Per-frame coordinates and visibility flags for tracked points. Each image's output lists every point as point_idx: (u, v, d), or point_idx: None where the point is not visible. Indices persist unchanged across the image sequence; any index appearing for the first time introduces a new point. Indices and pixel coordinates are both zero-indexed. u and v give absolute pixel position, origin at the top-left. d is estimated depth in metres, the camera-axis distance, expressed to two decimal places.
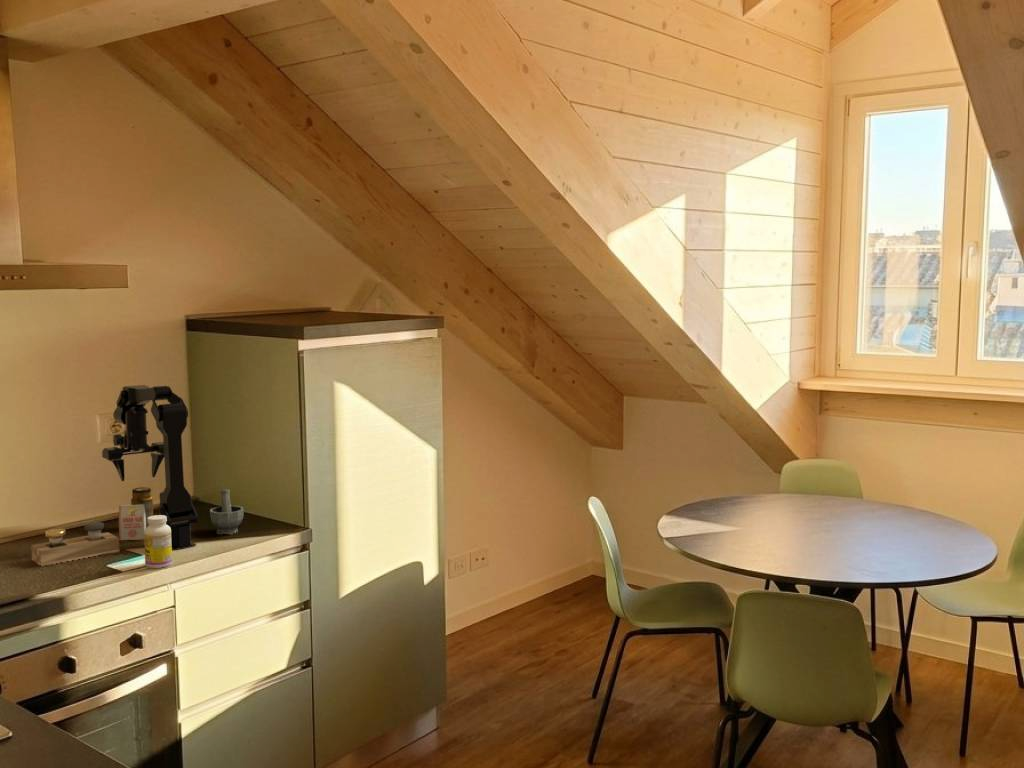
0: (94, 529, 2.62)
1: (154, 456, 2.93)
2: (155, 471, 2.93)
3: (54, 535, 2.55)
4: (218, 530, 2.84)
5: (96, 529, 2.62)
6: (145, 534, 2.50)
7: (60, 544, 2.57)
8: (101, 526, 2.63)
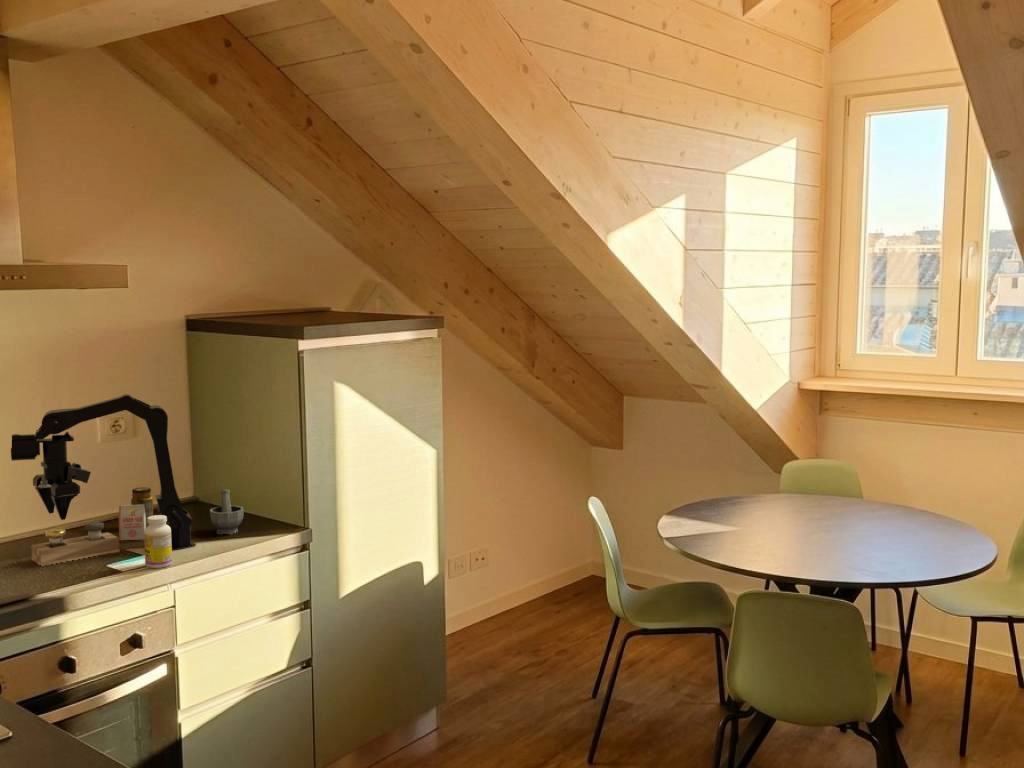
0: (94, 529, 2.62)
1: None
2: (58, 513, 2.53)
3: (54, 535, 2.55)
4: (218, 530, 2.84)
5: (96, 529, 2.62)
6: (145, 534, 2.50)
7: (60, 544, 2.57)
8: (101, 526, 2.63)
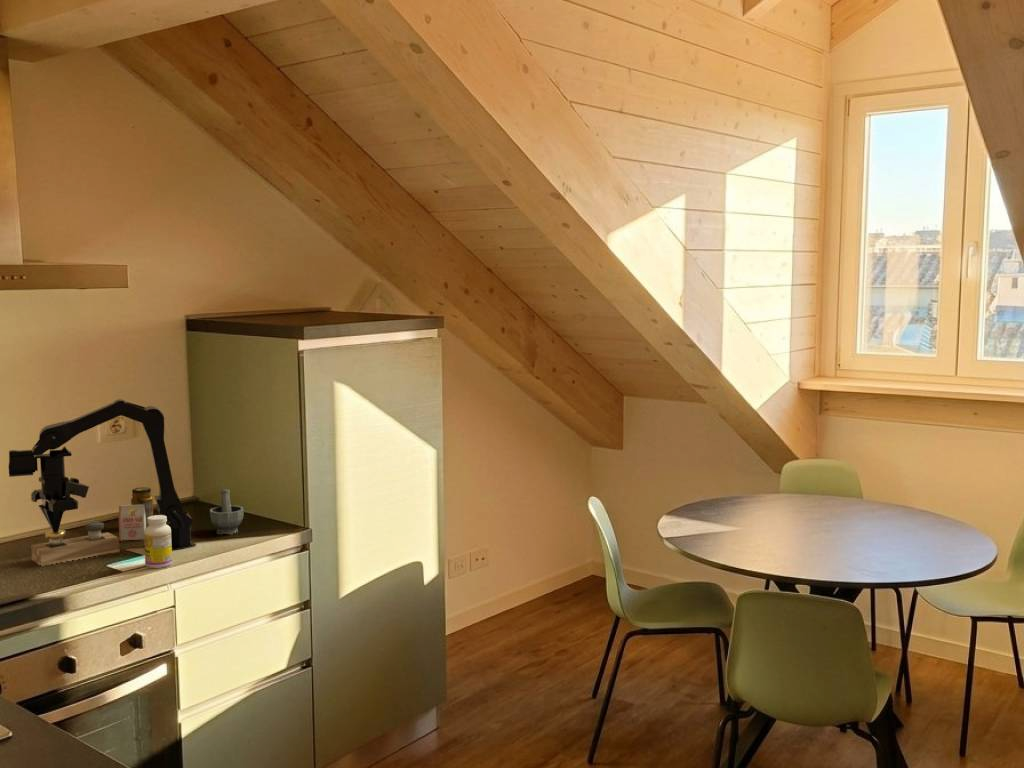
0: (94, 529, 2.62)
1: None
2: (51, 525, 2.56)
3: (54, 536, 2.55)
4: (218, 530, 2.84)
5: (96, 529, 2.62)
6: (145, 534, 2.50)
7: (60, 545, 2.57)
8: (101, 526, 2.63)
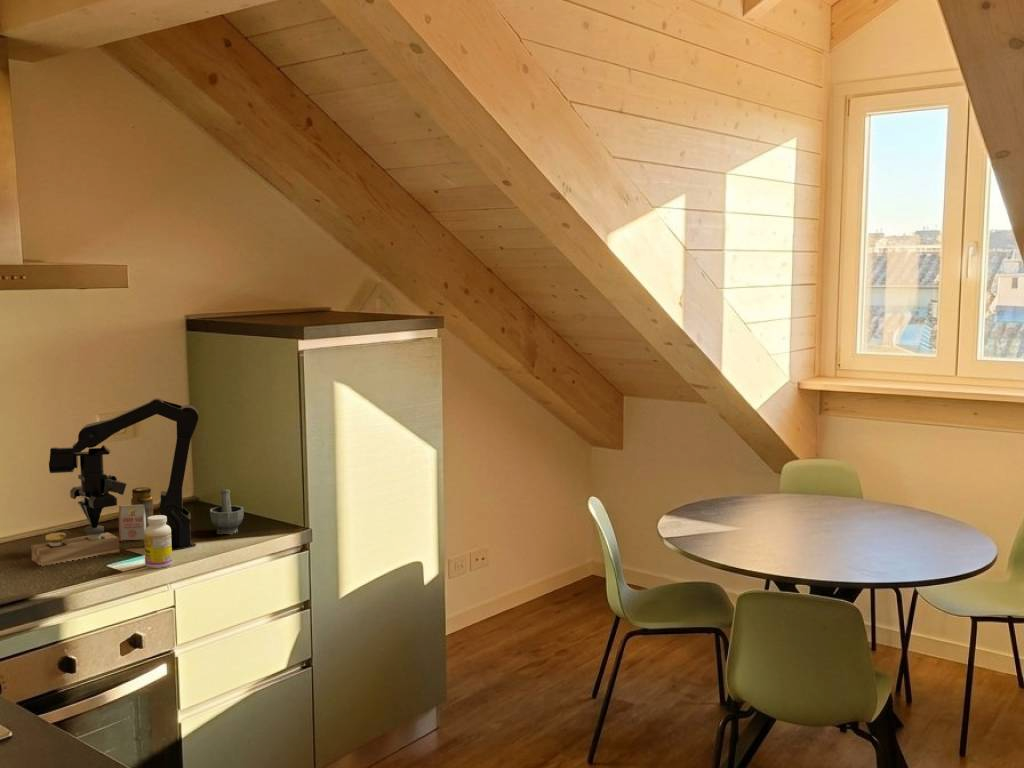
0: (94, 532, 2.62)
1: None
2: (90, 521, 2.62)
3: (54, 539, 2.55)
4: (218, 530, 2.84)
5: (96, 532, 2.62)
6: (145, 534, 2.50)
7: None
8: (101, 529, 2.63)
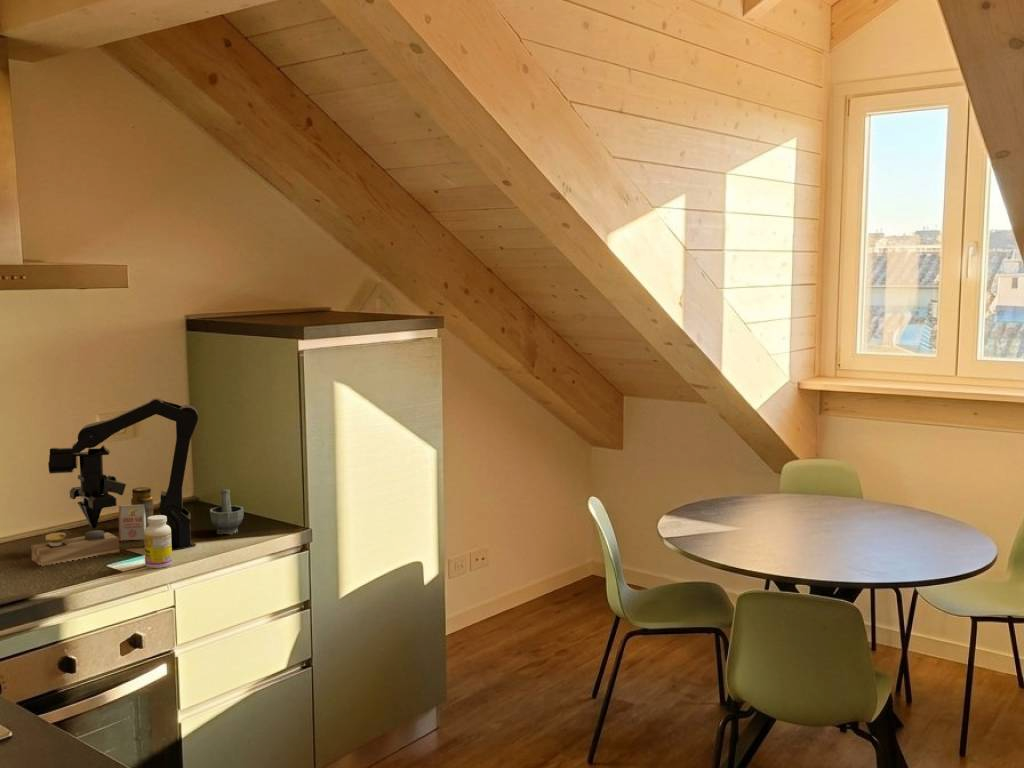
0: (94, 537, 2.62)
1: None
2: (89, 522, 2.62)
3: (54, 539, 2.55)
4: (218, 530, 2.84)
5: (96, 537, 2.62)
6: (145, 534, 2.50)
7: None
8: (101, 534, 2.63)
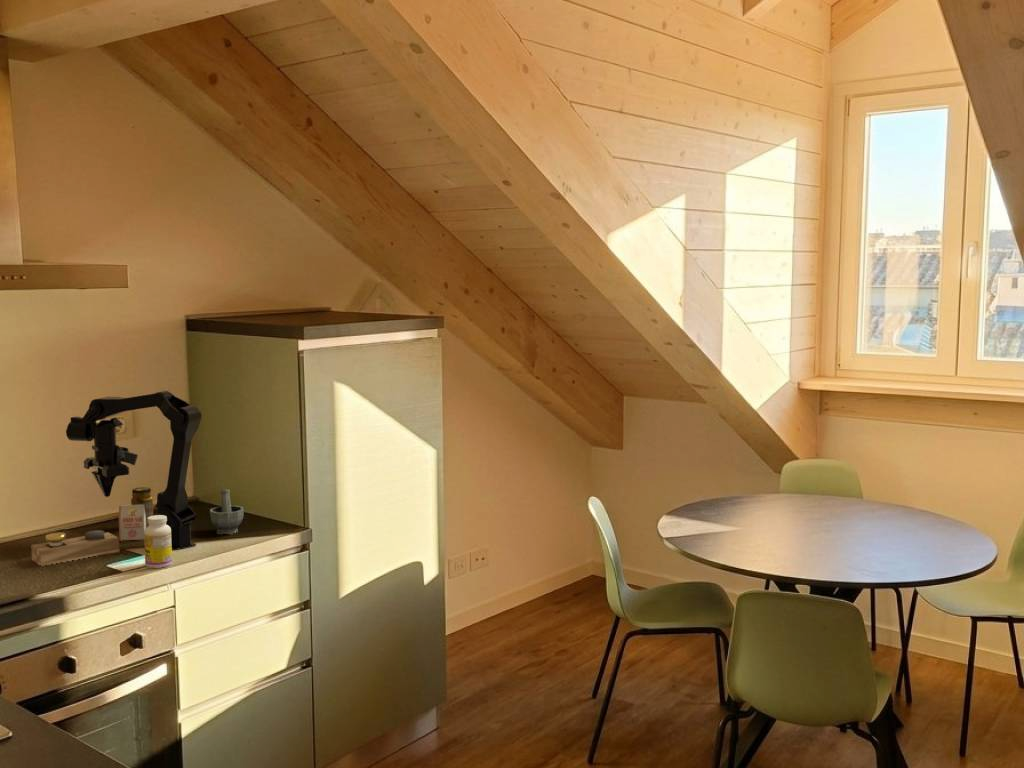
0: (94, 537, 2.62)
1: None
2: (103, 490, 2.73)
3: (54, 539, 2.55)
4: (218, 530, 2.84)
5: (96, 537, 2.62)
6: (145, 534, 2.50)
7: None
8: (101, 534, 2.63)
